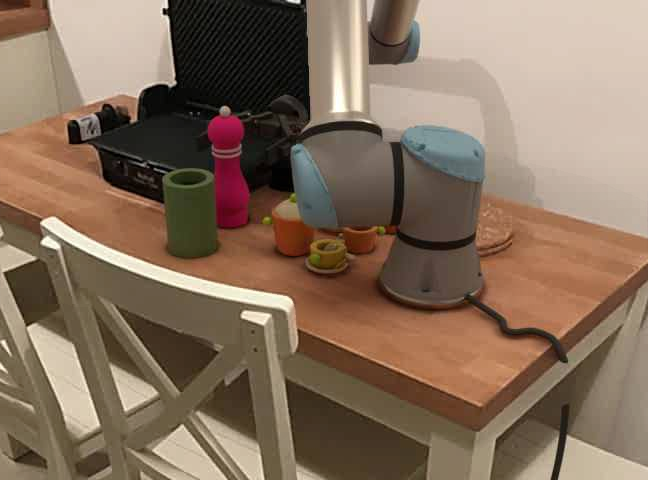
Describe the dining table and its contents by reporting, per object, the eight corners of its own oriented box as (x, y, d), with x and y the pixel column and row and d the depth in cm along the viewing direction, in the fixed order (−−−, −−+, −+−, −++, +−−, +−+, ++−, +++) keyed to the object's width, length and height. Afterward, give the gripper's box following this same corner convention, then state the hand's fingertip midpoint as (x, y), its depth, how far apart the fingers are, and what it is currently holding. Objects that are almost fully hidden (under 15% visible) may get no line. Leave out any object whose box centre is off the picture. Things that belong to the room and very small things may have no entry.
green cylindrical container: (226, 250, 150) (222, 180, 143) (181, 262, 147) (175, 191, 140) (204, 232, 156) (200, 164, 149) (160, 243, 153) (154, 174, 146)
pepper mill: (201, 225, 159) (194, 110, 147) (221, 209, 164) (216, 97, 152) (238, 232, 156) (233, 115, 144) (257, 216, 161) (254, 102, 149)
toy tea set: (328, 284, 140) (330, 225, 134) (253, 255, 149) (252, 199, 143) (424, 227, 155) (429, 173, 149) (351, 204, 164) (353, 152, 158)
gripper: (353, 144, 165) (296, 185, 150) (236, 124, 176) (172, 160, 161) (354, 103, 160) (296, 141, 146) (234, 84, 171) (169, 118, 157)
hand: (231, 151), depth 154 cm, fingers open, 13 cm apart
